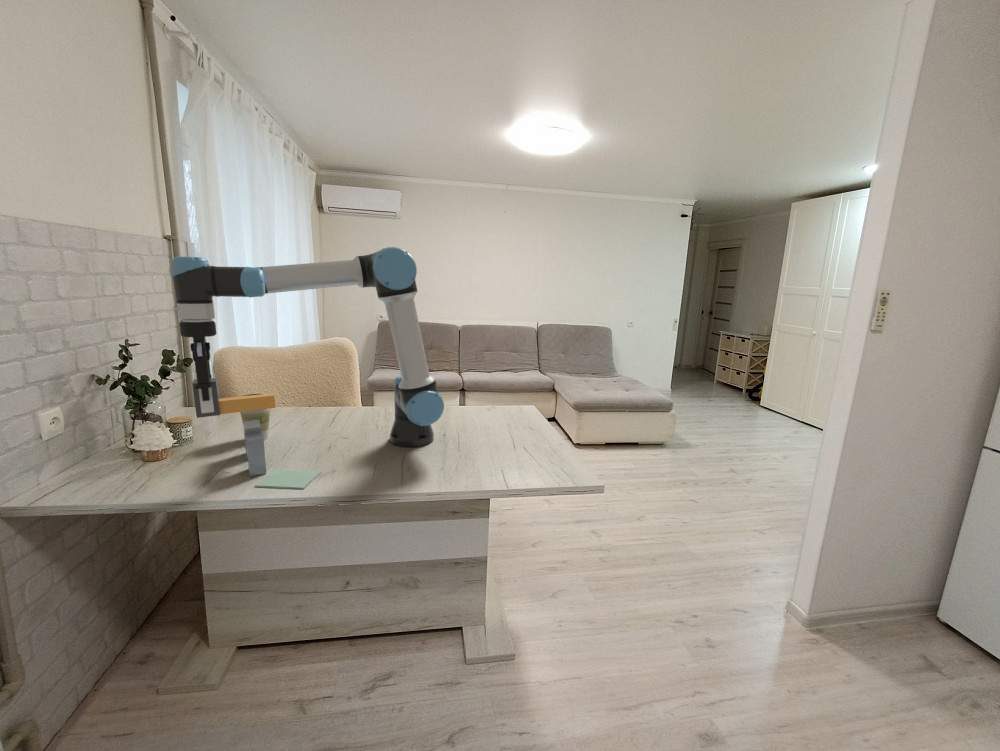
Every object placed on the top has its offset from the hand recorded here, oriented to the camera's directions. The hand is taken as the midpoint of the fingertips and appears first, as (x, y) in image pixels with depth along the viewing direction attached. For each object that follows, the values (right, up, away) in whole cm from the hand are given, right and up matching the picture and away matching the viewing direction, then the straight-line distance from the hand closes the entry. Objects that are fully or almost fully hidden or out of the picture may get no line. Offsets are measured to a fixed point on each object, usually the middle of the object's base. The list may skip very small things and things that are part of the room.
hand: (208, 409), depth 112 cm
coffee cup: (-7, -13, +35) cm, 38 cm away
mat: (+19, -20, +5) cm, 28 cm away
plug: (+6, -1, +4) cm, 7 cm away
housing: (+4, -17, +15) cm, 23 cm away
